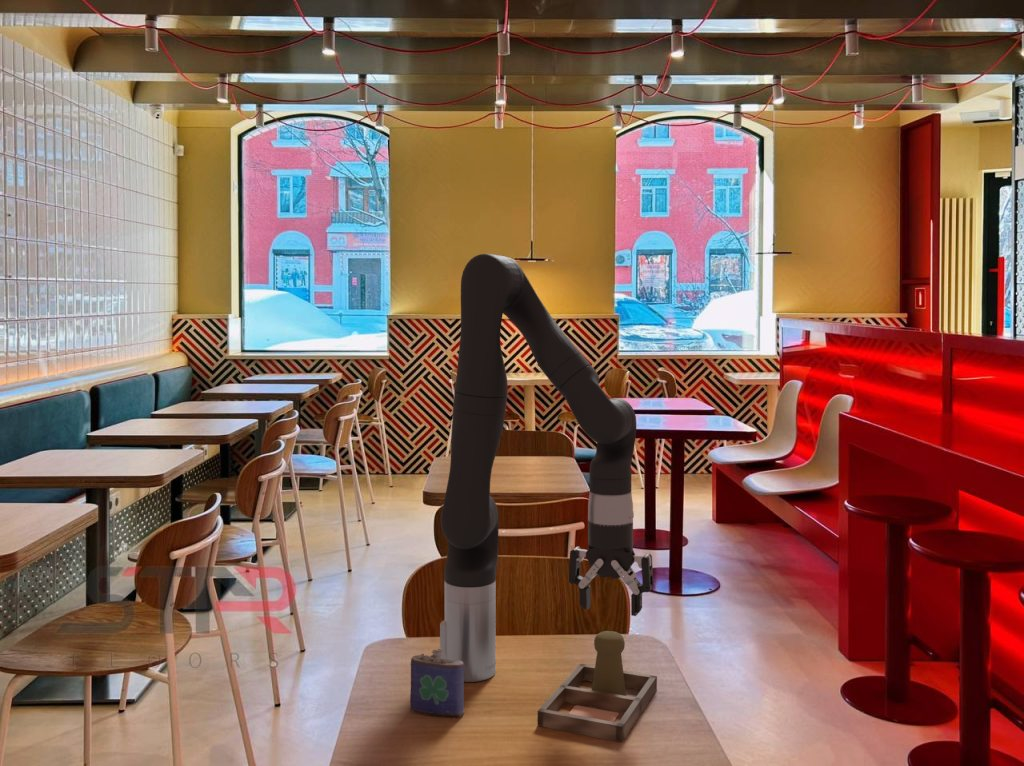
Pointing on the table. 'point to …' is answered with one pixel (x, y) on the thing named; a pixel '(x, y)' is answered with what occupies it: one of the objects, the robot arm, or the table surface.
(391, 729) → the table surface
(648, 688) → the caddy
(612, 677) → the cork
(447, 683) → the flask
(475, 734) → the table surface
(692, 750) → the table surface
